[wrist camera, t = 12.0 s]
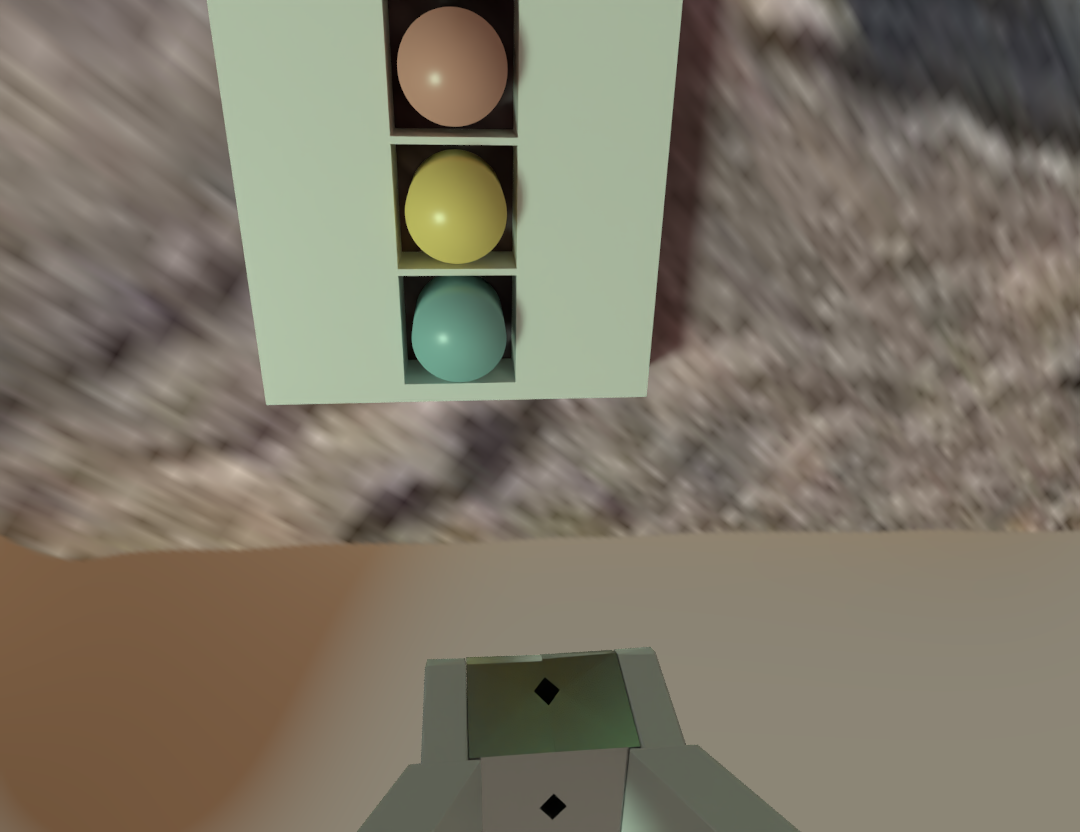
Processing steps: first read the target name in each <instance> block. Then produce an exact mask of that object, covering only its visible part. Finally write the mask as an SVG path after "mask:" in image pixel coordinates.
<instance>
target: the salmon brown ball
mask: <svg viewBox="0 0 1080 832" xmlns="http://www.w3.org/2000/svg"><path fill="white" fill-rule="evenodd" d="M397 71H398V77H399V82H400V85H401V88H402V90H403V92H404V94H405V96H406V98H407V99H408V101H409V102H410V104H411V105H412V106H413V107H414V109H415V110H416V111H418V112H419V113H420V114H421V115H422V116H424V117H425V118H427V119H428V120H430V121H432V122H434V123H437V124H440V125H444V126H450V127H460V126H466V125H470V124H472V123H475V122H477V121H479V120H481V119H482V118H484V117H485V116H487V115H488V114H489V113H490V112H491V111H492V110H493V109H494V107H495V106H496V105H497V103H498V102H499V100H500V98H501V96H502V94H503V92H504V89H505V86H506V81H507V71H508V68H507V58H506V53H505V50H504V47H503V44H502V42H501V40H500V38H499V36H498V35H497V33H496V31H495V30H494V29H493V28H492V26H491V25H490V24H489V23H488V22H487V21H486V20H484V19H483V18H482V17H481V16H479V15H477V14H476V13H474V12H472V11H469V10H467V9H463V8H459V7H441V8H436V9H433V10H430V11H428V12H426V13H424V14H423V15H421V16H420V17H419V18H417V19H416V20H415V21H414V22H413V23H412V24H411V25H410V27H409V28H408V29H407V31H406V33H405V34H404V36H403V38H402V41H401V43H400V47H399V50H398V57H397Z"/></svg>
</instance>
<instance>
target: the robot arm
mask: <svg viewBox="0 0 1080 832" xmlns="http://www.w3.org/2000/svg"><path fill="white" fill-rule="evenodd" d="M466 661H467V662H466ZM466 661H465V658H463V659H428V660H427V663H426V667H425V679H424V681H425V682H424V703H423V725H422V726H423V727H422V750H421V751H422V752H421V764H410V765H408V767H407V768H406V769H405V770H404V772H403V773H402V774H401V776H400V777H399V778H398V780H397V781H396V782H395V783H394V785H393V786H392V787H391V788H390V790H389V791H388V793H387V794H386V795H385V796H384V797H383V799H382V800H381V801H380V803H379V804H378V805H377V807H376V808H375V809H374V810H373V812H372V813H371V814H370V816H369V817H368V818H367V819H366V821H365V822H364V823H363V825H362V826H361V827H360V828H359V830H358V831H357V832H800V831H799V830H798V829H797V828H795V827H794V826H793V825H792V824H791V823H790V822H789V821H787V820H786V819H785V818H784V817H783V816H781V815H780V814H779V813H778V812H777V811H775V810H774V809H773V808H772V807H771V806H769V805H768V804H767V803H766V802H765V801H764V800H763V799H761V798H760V797H759V796H758V795H756V794H755V793H754V792H753V791H752V790H751V789H749V788H748V787H747V786H746V785H744V783H742V782H741V781H740V780H739V779H738V778H736V777H735V776H734V775H733V774H732V773H731V772H729V771H728V770H727V769H726V768H725V767H723V766H722V765H721V764H720V763H719V762H718V761H716V760H715V759H714V758H713V757H712V756H710V755H709V754H708V753H707V752H706V751H705V750H703V749H702V748H701V747H700V746H698V745H686V743H685V740H684V737H683V734H682V731H681V728H680V725H679V722H678V719H677V716H676V713H675V710H674V707H673V704H672V701H671V698H670V695H669V692H668V689H667V686H666V683H665V680H664V677H663V674H662V671H661V668H660V665H659V662H658V659H657V656H656V653H655V651H654V650H653V649H652V648H651V647H642V648H628V649H615V650H614V651H612V650H603V651H588V652H572V653H558V654H542V655H525V656H494V657H467V658H466ZM466 664H467V665H466ZM466 670H467V688H466Z"/></svg>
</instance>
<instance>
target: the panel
mask: <svg viewBox="0 0 1080 832" xmlns="http://www.w3.org/2000/svg"><path fill="white" fill-rule="evenodd" d="M682 3H683V0H514V56H513V129H443V128H395V121H394V103H393V86H392V68H391V50H390V33H389V15H388V0H207V5H208V12H209V19H210V26H211V32H212V39H213V46H214V53H215V60H216V66H217V73H218V80H219V87H220V94H221V100H222V107H223V114H224V121H225V128H226V134H227V141H228V148H229V155H230V161H231V168H232V175H233V182H234V189H235V195H236V202H237V209H238V216H239V223H240V229H241V236H242V243H243V250H244V257H245V263H246V270H247V277H248V284H249V290H250V297H251V304H252V311H253V318H254V324H255V331H256V338H257V345H258V352H259V358H260V365H261V372H262V379H263V386H264V392H265V399H266V405H284V404H330V403H376V402H422V401H469V400H515V399H561V398H607V397H646V396H647V385H648V374H649V363H650V352H651V341H652V330H653V320H654V309H655V298H656V287H657V276H658V265H659V254H660V243H661V232H662V221H663V211H664V200H665V189H666V178H667V167H668V156H669V145H670V134H671V123H672V112H673V102H674V91H675V80H676V69H677V58H678V47H679V36H680V25H681V14H682ZM396 144H428V145H513V200H512V251H490V252H489V253H488V254H486V255H485V256H483V257H482V258H480V259H478V260H475V261H472V262H469V263H463V264H451V263H446V262H442V261H439V260H437V259H435V258H432V257H431V256H429V255H428V254H426V253H425V252H402V245H401V228H400V210H399V192H398V174H397V157H396ZM482 275H512V344H511V358H508V359H501V360H500V361H499V363H498V364H497V365H496V366H495V368H494V369H493V370H491V371H490V372H489V373H488V374H486V375H484V376H483V377H481V378H478V379H476V380H473V381H468V382H451V381H447V380H443V379H441V378H438V377H436V376H434V375H433V374H431V373H430V372H429V371H427V370H426V369H425V368H424V367H423V366H422V365H421V363H420V362H419V360H408V352H407V334H406V316H405V298H404V281H403V276H482Z"/></svg>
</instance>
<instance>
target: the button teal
mask: <svg viewBox="0 0 1080 832" xmlns="http://www.w3.org/2000/svg"><path fill="white" fill-rule="evenodd" d="M506 339H507V338H506V329H505V323H504V317H503V311H502V306H501V302H500V299H499V296H498V294H497V292H496V291H495V289H494V288H493V287H492V286H491V285H490V284H489V283H488V282H487V281H486V280H485V279H483V278H481V277H480V276H437V277H435V278H433V279H432V280H431V281H429V282H428V283H427V284H426V285H425V286H424V288H423V289H422V290H421V292H420V294H419V296H418V298H417V302H416V307H415V314H414V321H413V328H412V346H413V350H414V353H415V355H416V357H417V359H418V360H419V362H420V363H421V365H422V366H423V367H424V368H425V369H426V370H427V371H429V372H430V373H431V374H433V375H434V376H436V377H438V378H441V379H443V380H447V381H451V382H468V381H473V380H476V379H478V378H481V377H483V376H484V375H486V374H488V373H489V372H490V371H491V370H493V369H494V368H495V366H496V365H497V364H498V363H499V361H500V360H501V358H502V356H503V354H504V351H505V347H506Z"/></svg>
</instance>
